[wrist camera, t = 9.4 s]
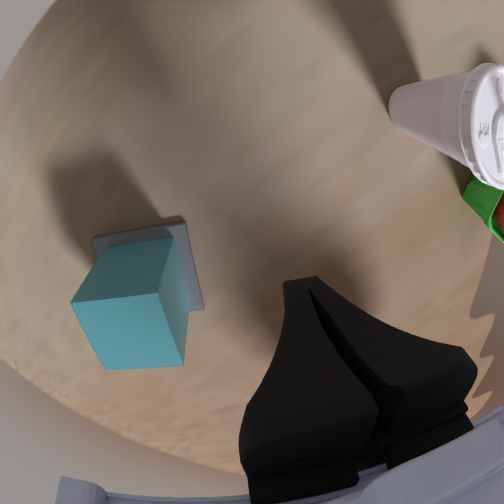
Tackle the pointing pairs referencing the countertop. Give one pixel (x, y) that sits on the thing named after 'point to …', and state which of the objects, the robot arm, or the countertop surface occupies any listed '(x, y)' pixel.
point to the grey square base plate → (159, 233)
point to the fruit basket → (487, 205)
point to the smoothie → (458, 118)
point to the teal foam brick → (135, 306)
